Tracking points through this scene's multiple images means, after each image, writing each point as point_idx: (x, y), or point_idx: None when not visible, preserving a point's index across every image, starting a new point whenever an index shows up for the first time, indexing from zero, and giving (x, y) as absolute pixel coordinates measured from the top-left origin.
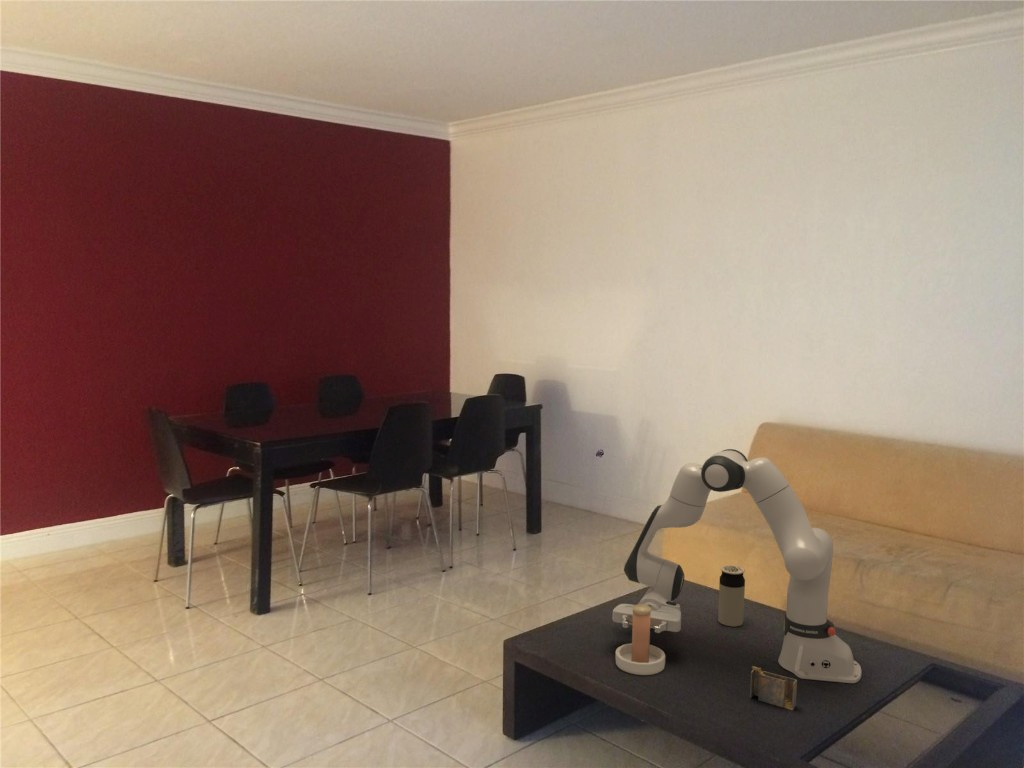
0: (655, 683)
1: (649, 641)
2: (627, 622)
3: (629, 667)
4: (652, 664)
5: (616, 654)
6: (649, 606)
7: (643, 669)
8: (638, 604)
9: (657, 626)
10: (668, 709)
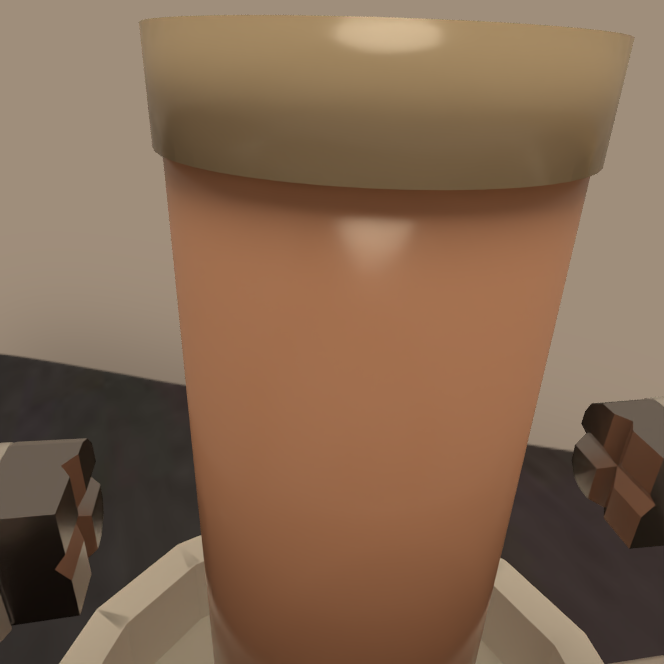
0: (118, 531)
1: (212, 641)
2: (601, 403)
3: None
4: (148, 575)
5: (523, 579)
6: (213, 17)
7: None
8: (599, 33)
9: (25, 460)
10: (42, 375)
